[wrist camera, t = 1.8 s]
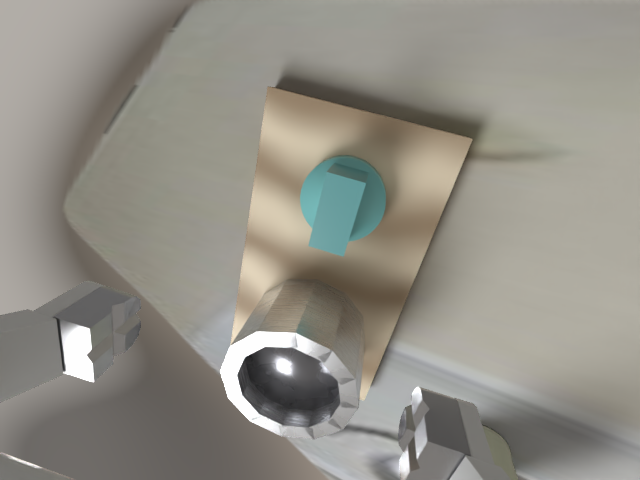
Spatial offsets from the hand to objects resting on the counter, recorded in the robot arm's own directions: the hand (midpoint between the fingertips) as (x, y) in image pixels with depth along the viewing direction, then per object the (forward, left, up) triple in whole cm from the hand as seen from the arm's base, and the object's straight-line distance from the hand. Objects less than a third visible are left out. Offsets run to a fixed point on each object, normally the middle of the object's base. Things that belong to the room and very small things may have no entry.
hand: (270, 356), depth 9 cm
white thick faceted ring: (+9, +8, -17) cm, 21 cm away
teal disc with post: (0, 0, -17) cm, 17 cm away
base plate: (+5, +4, -18) cm, 19 cm away
